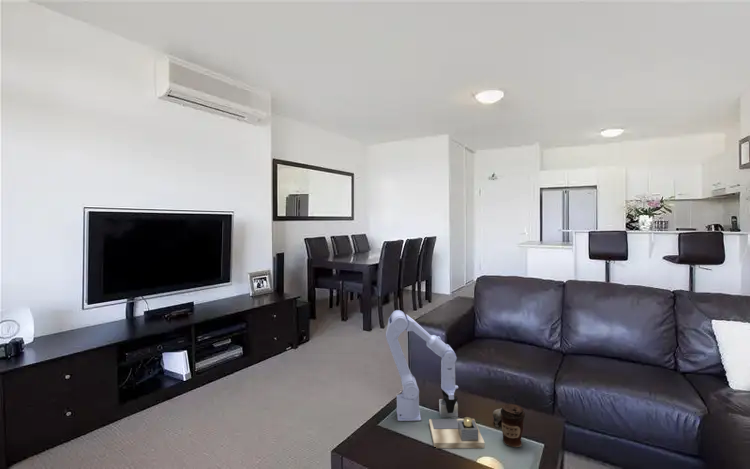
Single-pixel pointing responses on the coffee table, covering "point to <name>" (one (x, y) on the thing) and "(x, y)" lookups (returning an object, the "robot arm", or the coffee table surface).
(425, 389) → the coffee table surface
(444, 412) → the block
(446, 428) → the base
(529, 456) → the coffee table surface
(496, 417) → the rhino figurine
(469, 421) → the pin
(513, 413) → the coffee cup
